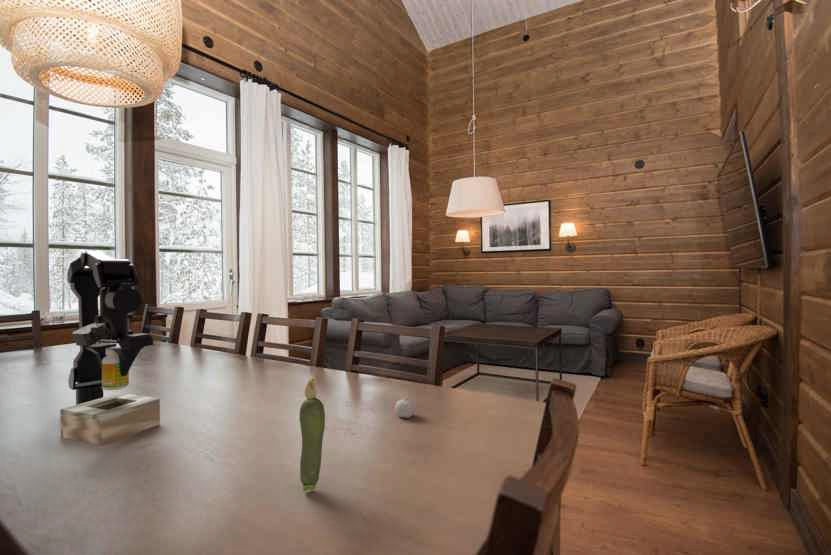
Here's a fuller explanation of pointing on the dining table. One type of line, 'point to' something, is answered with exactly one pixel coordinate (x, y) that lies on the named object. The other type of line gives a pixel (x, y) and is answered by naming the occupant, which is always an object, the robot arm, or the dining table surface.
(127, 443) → the dining table surface
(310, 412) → the vegetable
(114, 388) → the supplement bottle
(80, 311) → the robot arm
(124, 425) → the crate
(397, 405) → the garlic
